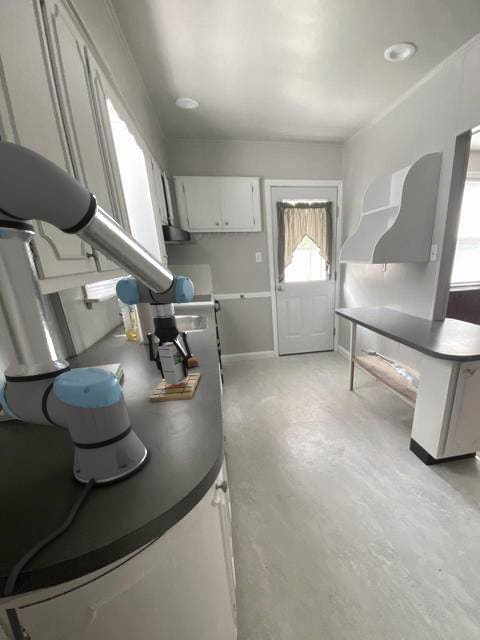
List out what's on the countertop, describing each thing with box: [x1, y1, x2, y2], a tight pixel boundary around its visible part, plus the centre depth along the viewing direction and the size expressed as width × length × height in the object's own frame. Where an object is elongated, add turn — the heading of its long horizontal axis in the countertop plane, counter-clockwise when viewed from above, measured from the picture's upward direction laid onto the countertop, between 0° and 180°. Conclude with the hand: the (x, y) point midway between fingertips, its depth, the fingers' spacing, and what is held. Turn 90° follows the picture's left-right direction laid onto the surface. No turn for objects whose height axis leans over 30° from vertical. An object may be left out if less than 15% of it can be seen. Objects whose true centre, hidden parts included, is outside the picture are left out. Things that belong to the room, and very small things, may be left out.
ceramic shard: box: [188, 357, 199, 368], centre depth 138 cm, size 15×6×15 cm
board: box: [148, 372, 201, 402], centre depth 116 cm, size 22×14×2 cm, turn 7°
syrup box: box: [157, 342, 187, 385], centre depth 113 cm, size 6×6×14 cm
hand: (175, 376), depth 115 cm, fingers closed on syrup box, 7 cm apart
